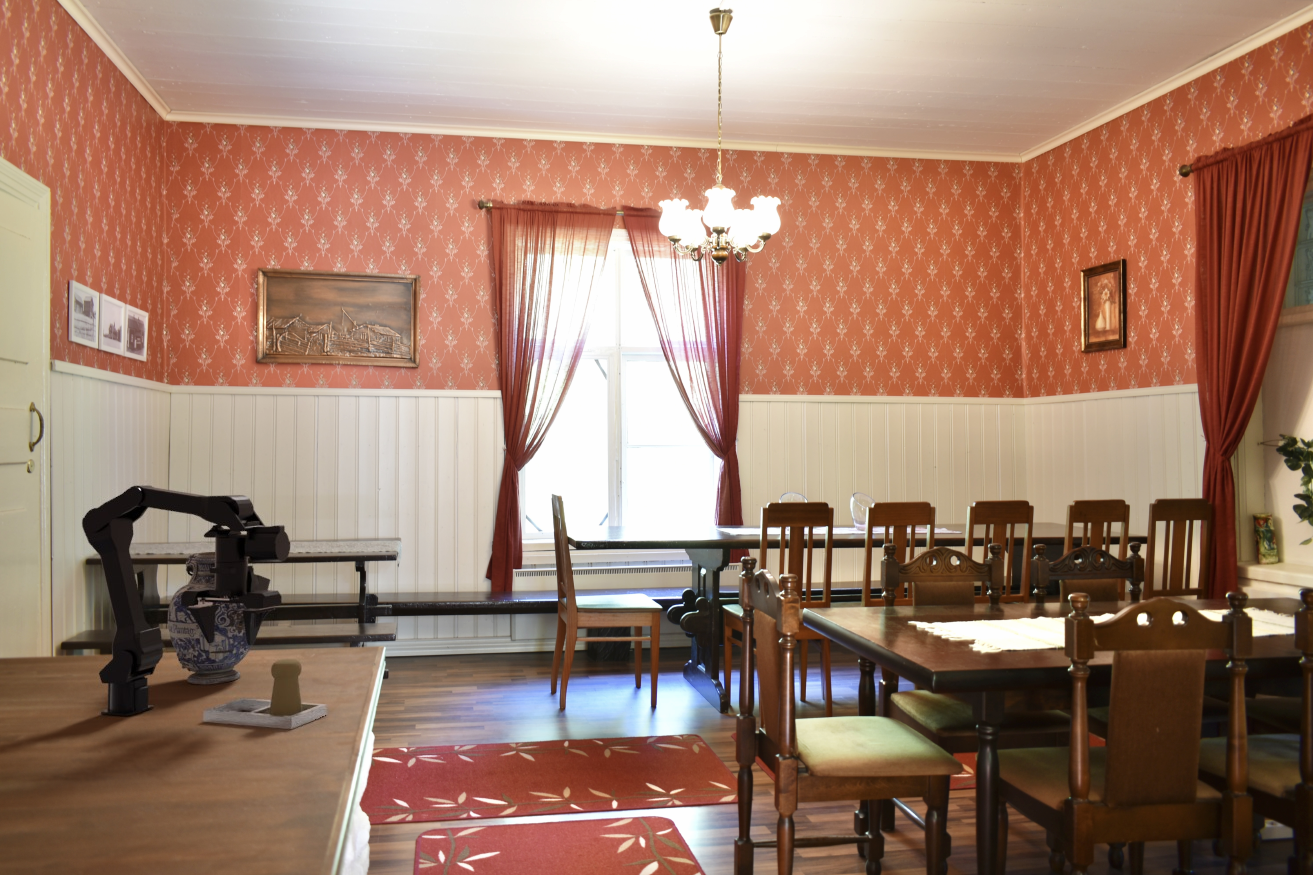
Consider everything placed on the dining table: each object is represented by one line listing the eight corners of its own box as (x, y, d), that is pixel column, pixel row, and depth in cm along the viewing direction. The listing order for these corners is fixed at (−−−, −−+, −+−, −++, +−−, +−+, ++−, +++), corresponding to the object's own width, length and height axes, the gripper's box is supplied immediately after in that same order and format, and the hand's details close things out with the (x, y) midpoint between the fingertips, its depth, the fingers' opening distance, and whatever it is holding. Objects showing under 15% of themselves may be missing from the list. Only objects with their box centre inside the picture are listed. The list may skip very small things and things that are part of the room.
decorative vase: (144, 681, 203) (149, 552, 204) (222, 667, 218) (226, 548, 220) (202, 693, 191) (206, 557, 193) (280, 678, 207) (284, 552, 209)
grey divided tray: (203, 721, 169) (203, 710, 169) (242, 708, 179) (242, 697, 179) (291, 729, 164) (291, 717, 164) (326, 714, 173) (326, 704, 174)
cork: (302, 722, 168) (303, 661, 169) (266, 725, 166) (267, 663, 167) (303, 714, 174) (304, 655, 174) (269, 717, 172) (269, 657, 172)
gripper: (301, 558, 181) (300, 639, 180) (222, 556, 186) (221, 635, 186) (261, 563, 170) (260, 649, 170) (179, 561, 176) (177, 644, 175)
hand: (230, 644), depth 175 cm, fingers open, 9 cm apart
